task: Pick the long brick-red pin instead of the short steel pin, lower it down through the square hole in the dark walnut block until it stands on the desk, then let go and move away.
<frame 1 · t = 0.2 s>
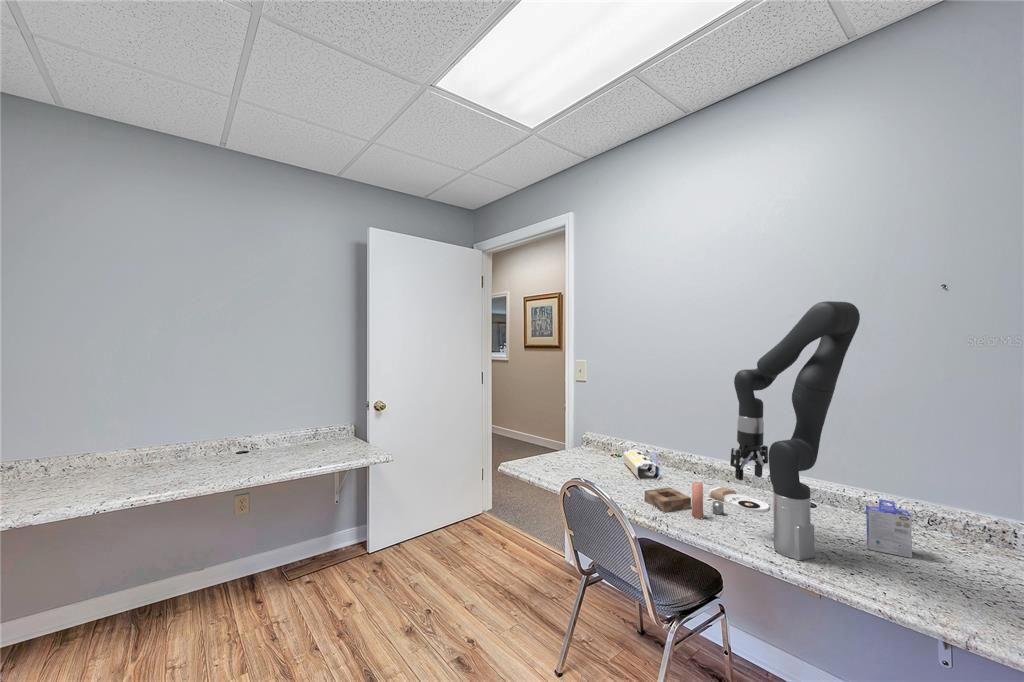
hand: (748, 478, 138), 18 cm above the table, tool pointing down, fingers open, 8 cm apart
hole block: (667, 504, 161), on the table
ink cartridge box: (888, 551, 125), on the table
long pin: (697, 517, 149), on the table
short pin: (718, 513, 152), on the table
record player: (739, 504, 162), on the table
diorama: (640, 472, 202), on the table
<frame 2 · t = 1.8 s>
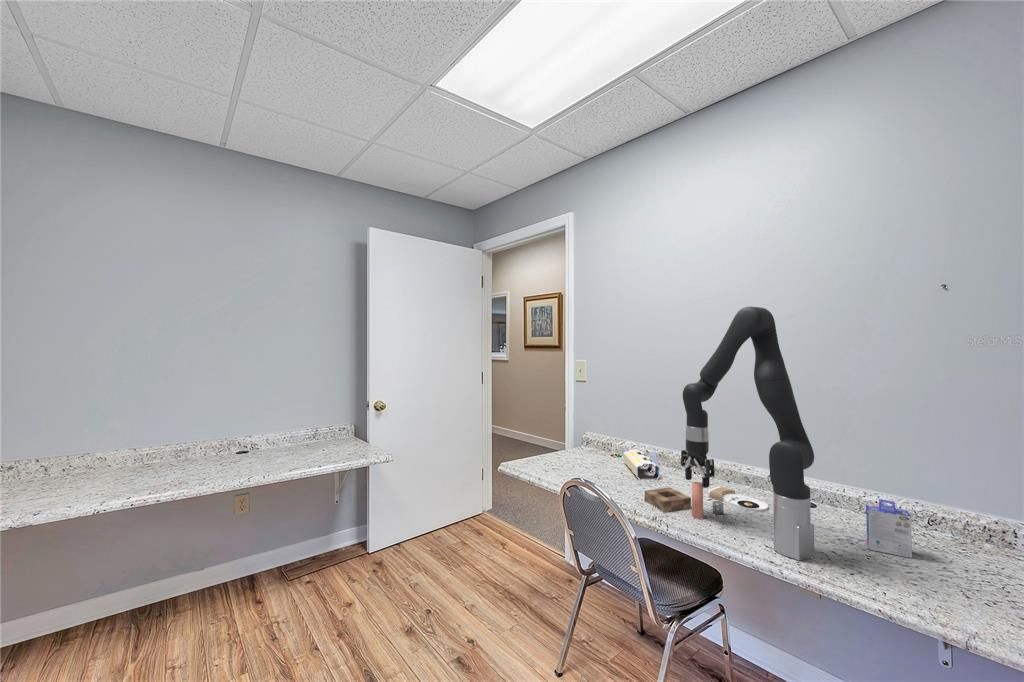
hand: (696, 483, 150), 12 cm above the table, tool pointing down, fingers open, 8 cm apart
nothing on the table moved.
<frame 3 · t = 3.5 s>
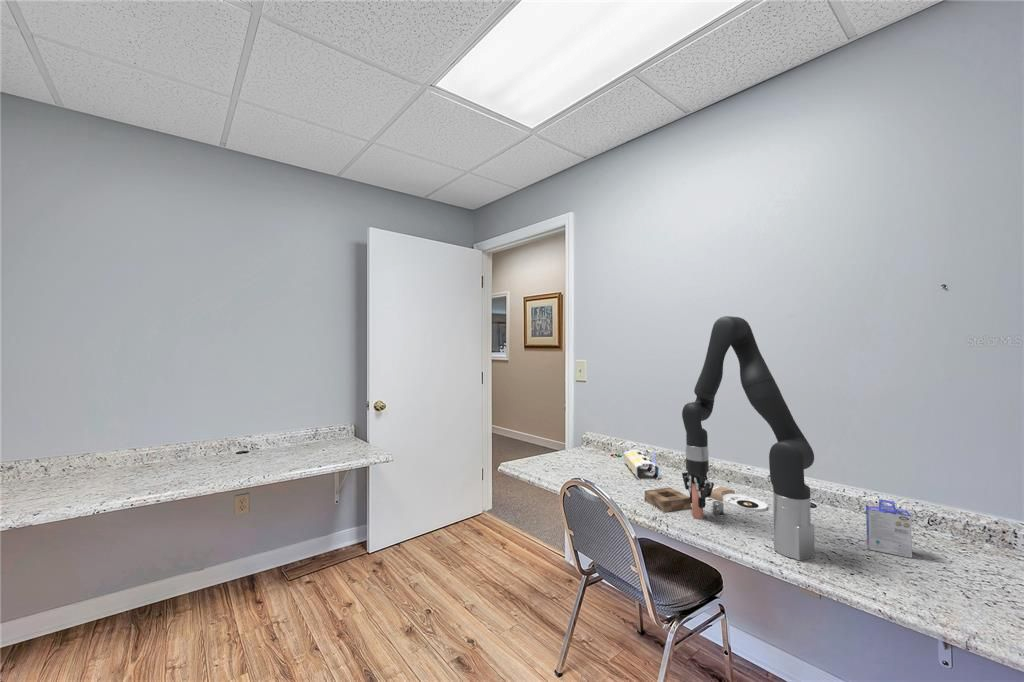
hand: (697, 505, 149), 4 cm above the table, tool pointing down, fingers closed on long pin, 3 cm apart
long pin: (697, 517, 149), on the table, touching gripper
everything else where it was.
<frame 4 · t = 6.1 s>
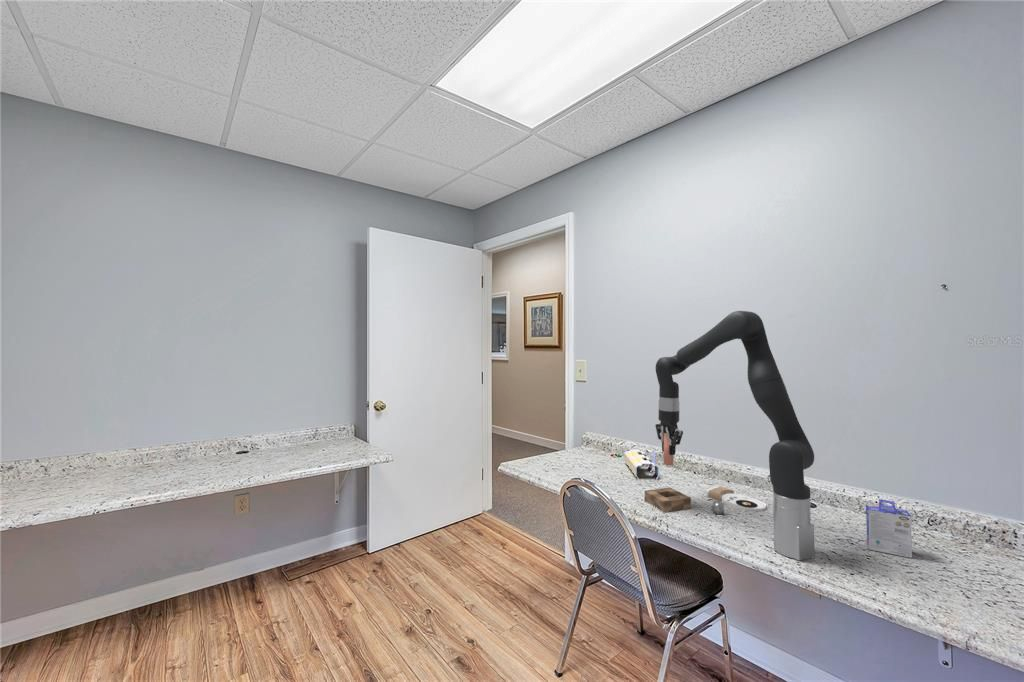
hand: (668, 453, 160), 20 cm above the table, tool pointing down, fingers closed on long pin, 3 cm apart
long pin: (668, 464, 160), point 16 cm above the table, touching gripper
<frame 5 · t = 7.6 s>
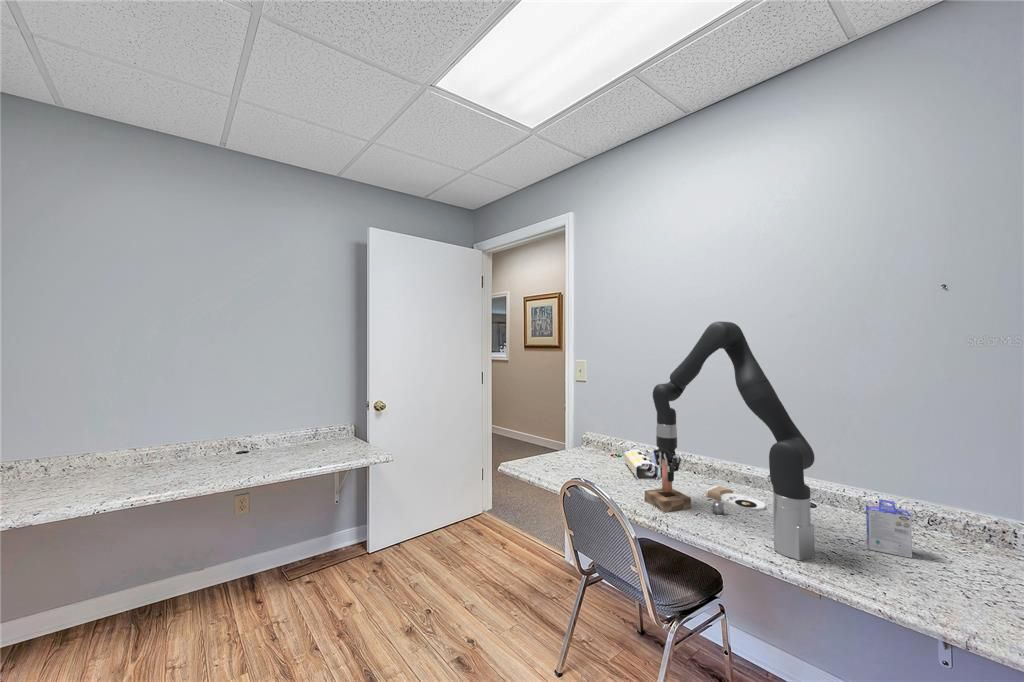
hand: (667, 479, 161), 10 cm above the table, tool pointing down, fingers closed on long pin, 3 cm apart
long pin: (667, 490, 161), point 6 cm above the table, touching gripper
when the fingers open (6 cm above the table, at t = 8.7 s): long pin drops 1 cm, resting in hole block.
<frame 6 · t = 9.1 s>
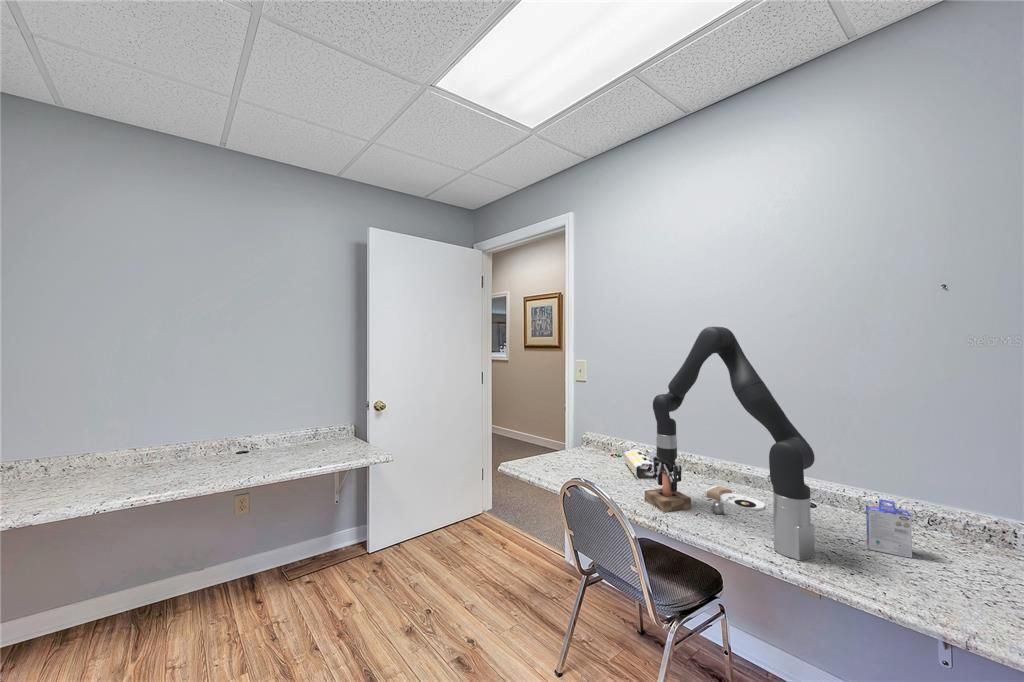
hand: (667, 488, 161), 6 cm above the table, tool pointing down, fingers open, 7 cm apart
long pin: (667, 504, 161), resting in hole block
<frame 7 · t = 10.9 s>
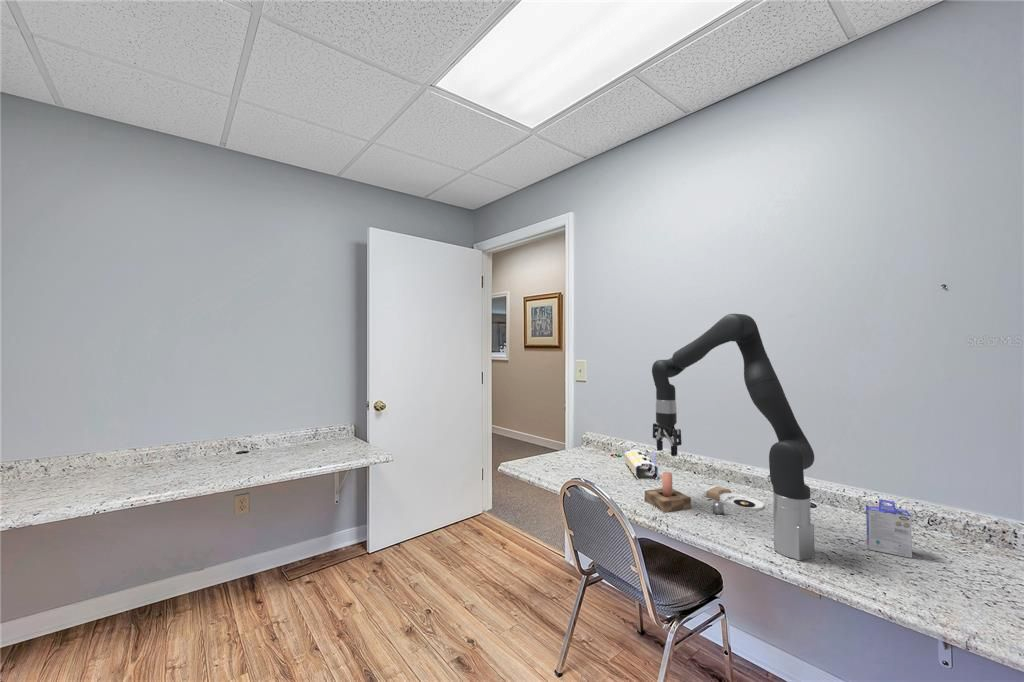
hand: (666, 453, 161), 20 cm above the table, tool pointing down, fingers open, 8 cm apart
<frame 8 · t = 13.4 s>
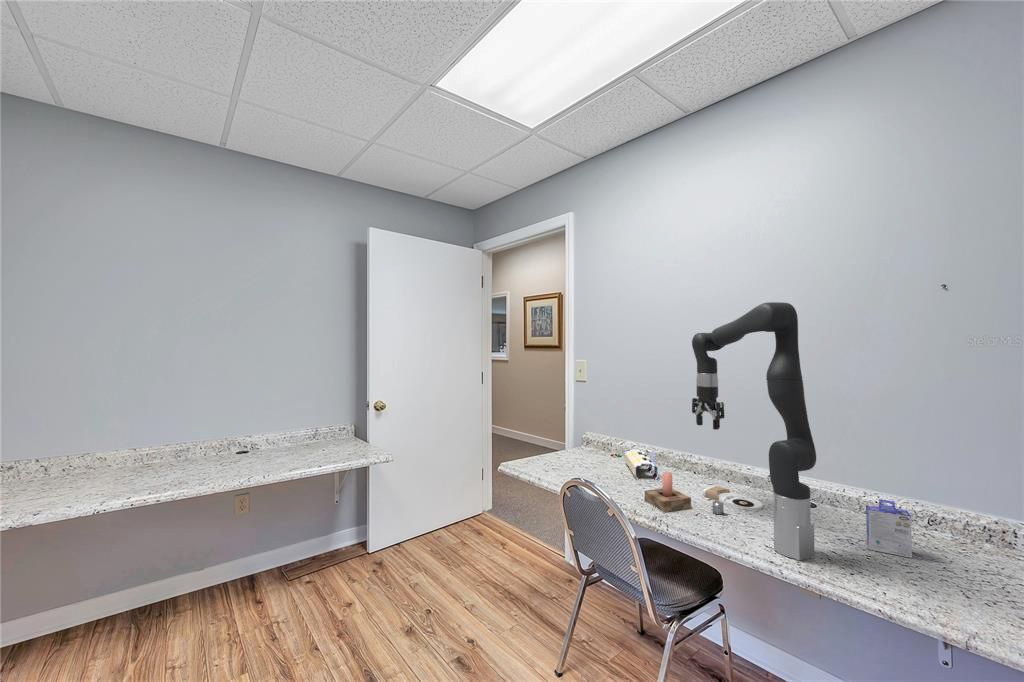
hand: (707, 427, 159), 30 cm above the table, tool pointing down, fingers open, 8 cm apart
at the end: long pin 0.2 cm off-centre on the hole block, point 0.0 cm above the hole block's base; long pin tilted 1°; short pin moved 0.1 cm from its start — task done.
